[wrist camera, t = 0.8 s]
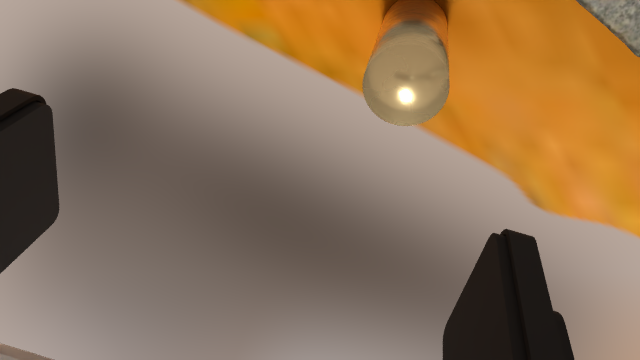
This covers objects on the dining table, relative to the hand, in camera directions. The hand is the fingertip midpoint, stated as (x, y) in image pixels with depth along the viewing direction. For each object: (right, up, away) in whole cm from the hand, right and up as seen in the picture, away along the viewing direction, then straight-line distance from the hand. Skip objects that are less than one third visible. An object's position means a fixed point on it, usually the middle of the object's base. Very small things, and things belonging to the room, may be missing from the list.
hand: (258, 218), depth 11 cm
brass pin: (+7, +9, +19) cm, 22 cm away
